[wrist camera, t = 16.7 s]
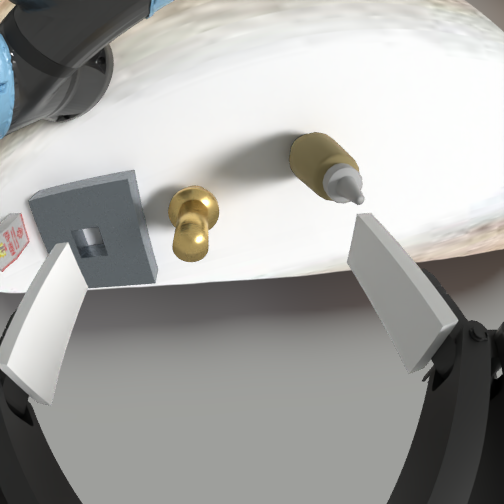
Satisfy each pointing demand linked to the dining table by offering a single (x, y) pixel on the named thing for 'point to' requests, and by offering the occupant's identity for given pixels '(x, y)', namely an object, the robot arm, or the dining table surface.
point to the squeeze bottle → (326, 168)
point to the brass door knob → (192, 221)
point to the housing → (110, 225)
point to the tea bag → (12, 239)
